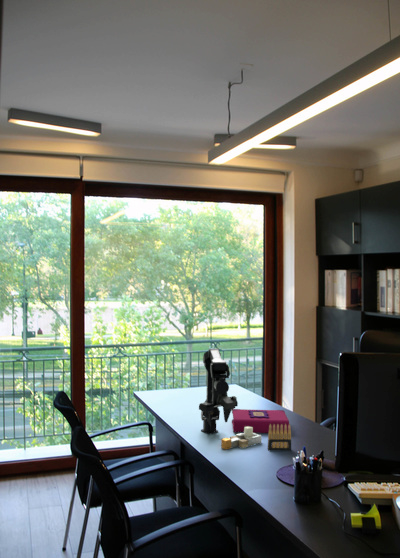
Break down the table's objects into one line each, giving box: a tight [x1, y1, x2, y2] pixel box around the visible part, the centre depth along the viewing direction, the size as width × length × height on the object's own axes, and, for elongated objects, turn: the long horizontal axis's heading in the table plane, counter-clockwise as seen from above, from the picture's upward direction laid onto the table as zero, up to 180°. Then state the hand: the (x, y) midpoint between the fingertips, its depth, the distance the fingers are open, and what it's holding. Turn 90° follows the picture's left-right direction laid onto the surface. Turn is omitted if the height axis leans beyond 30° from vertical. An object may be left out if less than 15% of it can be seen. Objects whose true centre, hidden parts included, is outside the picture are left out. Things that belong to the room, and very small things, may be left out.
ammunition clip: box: [267, 423, 292, 452], centre depth 245 cm, size 11×2×12 cm, turn 93°
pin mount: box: [229, 435, 248, 449], centre depth 250 cm, size 9×3×3 cm, turn 39°
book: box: [231, 408, 290, 435], centre depth 279 cm, size 21×28×8 cm
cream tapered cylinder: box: [244, 427, 253, 440], centre depth 254 cm, size 4×4×7 cm
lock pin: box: [220, 437, 241, 450], centre depth 247 cm, size 3×10×4 cm, turn 129°
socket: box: [235, 433, 262, 447], centre depth 254 cm, size 9×9×4 cm
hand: (218, 423), depth 242 cm, fingers open, 9 cm apart
